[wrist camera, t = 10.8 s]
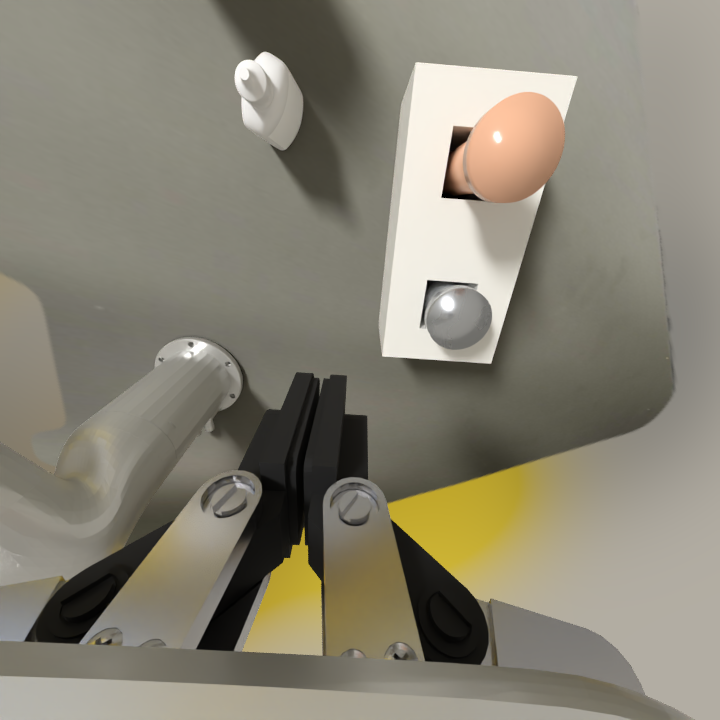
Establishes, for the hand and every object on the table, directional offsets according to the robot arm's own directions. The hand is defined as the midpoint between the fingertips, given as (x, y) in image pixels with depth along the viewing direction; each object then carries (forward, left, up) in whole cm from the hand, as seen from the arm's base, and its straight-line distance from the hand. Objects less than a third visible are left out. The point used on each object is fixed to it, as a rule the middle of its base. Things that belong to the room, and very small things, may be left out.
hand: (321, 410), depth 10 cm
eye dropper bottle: (+14, +8, -31) cm, 35 cm away
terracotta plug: (+10, -10, -28) cm, 31 cm away
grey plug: (-2, -10, -31) cm, 33 cm away
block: (+4, -10, -31) cm, 33 cm away
